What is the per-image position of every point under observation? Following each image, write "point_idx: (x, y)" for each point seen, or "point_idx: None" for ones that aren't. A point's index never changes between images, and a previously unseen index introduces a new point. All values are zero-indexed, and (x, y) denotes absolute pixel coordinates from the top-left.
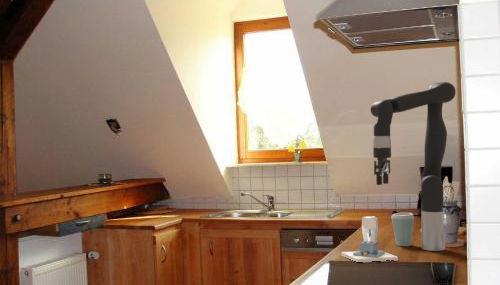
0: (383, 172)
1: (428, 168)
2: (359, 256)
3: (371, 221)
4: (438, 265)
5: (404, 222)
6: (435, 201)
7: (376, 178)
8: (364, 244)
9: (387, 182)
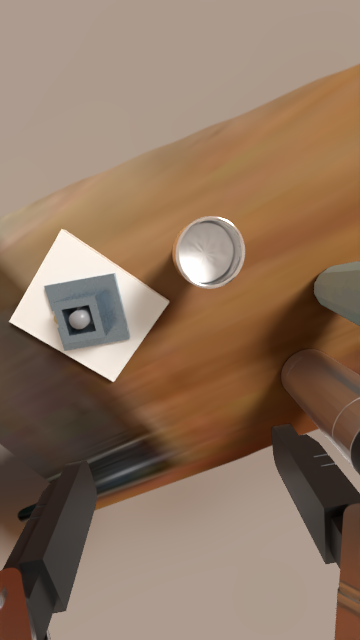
0: (342, 574)
1: None
2: (45, 308)
3: (183, 277)
4: (127, 458)
5: (358, 319)
6: None
7: (36, 525)
8: (57, 316)
9: (280, 470)
